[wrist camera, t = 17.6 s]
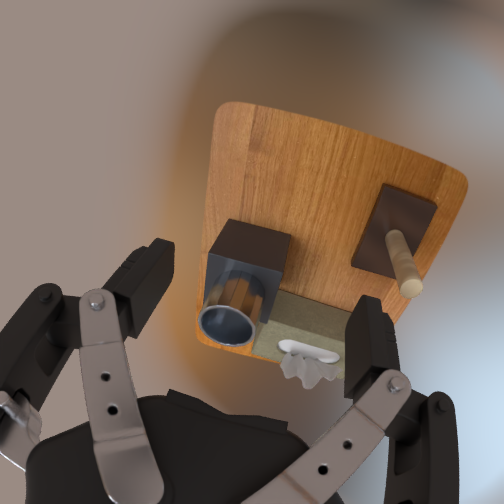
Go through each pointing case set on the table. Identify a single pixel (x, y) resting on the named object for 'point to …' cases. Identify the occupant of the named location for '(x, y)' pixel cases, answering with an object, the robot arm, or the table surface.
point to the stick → (403, 265)
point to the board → (392, 228)
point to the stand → (249, 258)
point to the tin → (233, 308)
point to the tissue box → (304, 339)
